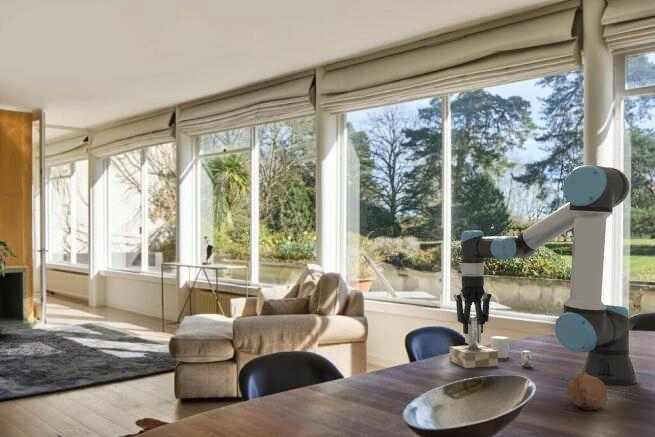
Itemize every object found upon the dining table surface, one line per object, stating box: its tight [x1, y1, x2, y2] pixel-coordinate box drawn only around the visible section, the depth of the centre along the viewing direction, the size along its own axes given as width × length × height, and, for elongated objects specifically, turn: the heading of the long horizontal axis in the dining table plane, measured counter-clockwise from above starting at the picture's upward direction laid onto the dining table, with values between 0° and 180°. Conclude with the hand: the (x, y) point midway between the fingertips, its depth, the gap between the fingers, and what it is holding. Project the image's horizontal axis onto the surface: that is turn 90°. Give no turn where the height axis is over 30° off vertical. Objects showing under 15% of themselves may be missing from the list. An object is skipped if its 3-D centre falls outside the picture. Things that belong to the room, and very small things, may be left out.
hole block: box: [449, 344, 499, 369], centre depth 214 cm, size 12×12×5 cm
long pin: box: [467, 315, 479, 350], centre depth 214 cm, size 3×3×14 cm
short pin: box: [520, 350, 532, 368], centre depth 209 cm, size 3×3×5 cm
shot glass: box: [489, 335, 510, 359], centre depth 226 cm, size 7×7×7 cm
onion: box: [567, 371, 609, 412], centre depth 160 cm, size 10×9×10 cm
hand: (473, 342), depth 214 cm, fingers closed on long pin, 3 cm apart
